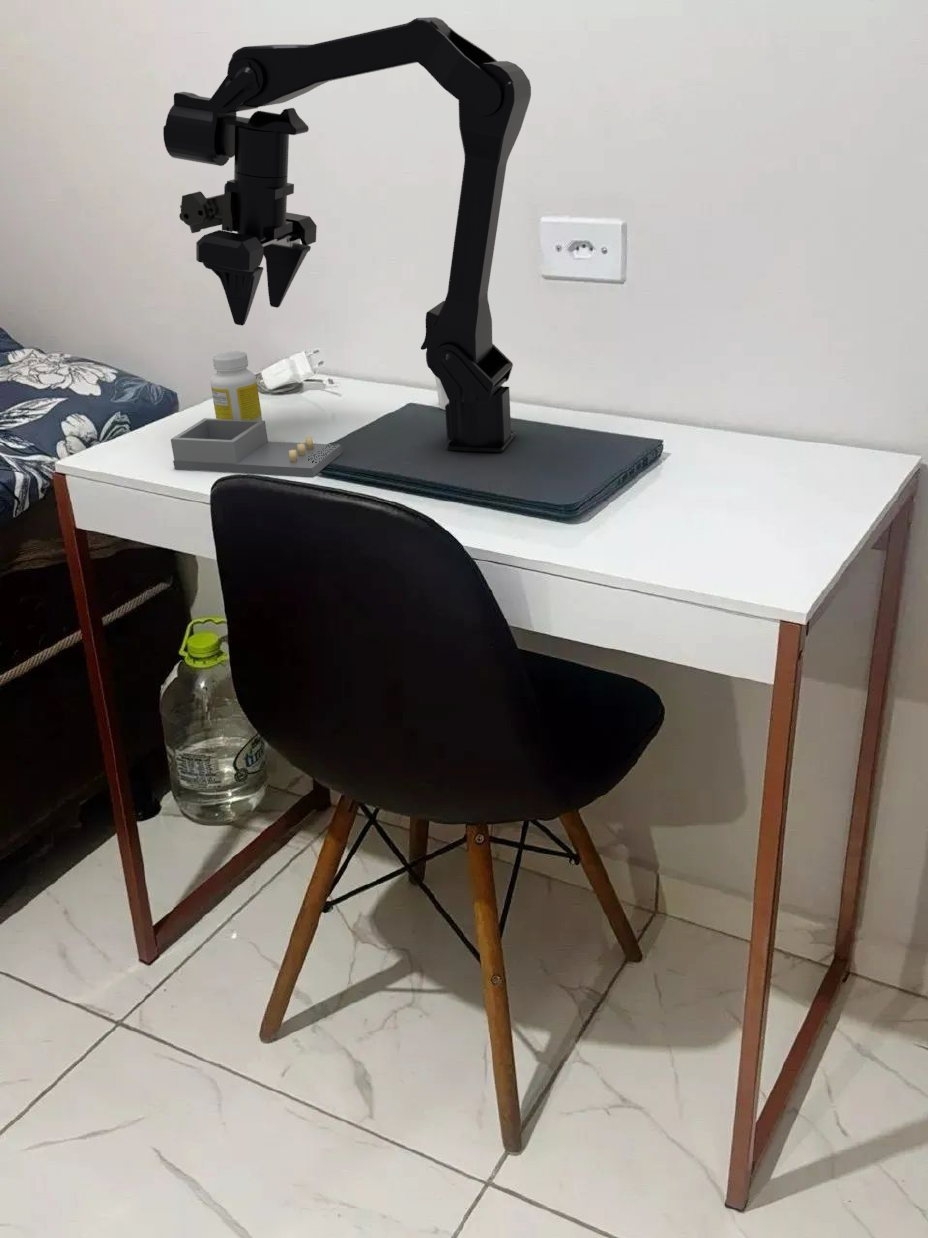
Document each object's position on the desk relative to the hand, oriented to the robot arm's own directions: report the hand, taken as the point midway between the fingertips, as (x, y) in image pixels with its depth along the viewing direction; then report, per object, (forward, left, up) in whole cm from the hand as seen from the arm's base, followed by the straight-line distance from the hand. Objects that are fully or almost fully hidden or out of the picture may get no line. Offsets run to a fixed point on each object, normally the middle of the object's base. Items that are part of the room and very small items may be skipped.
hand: (257, 315), depth 136 cm
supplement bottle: (+4, +1, -15) cm, 15 cm away
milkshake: (-18, -14, -14) cm, 27 cm away
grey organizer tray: (-3, +9, -14) cm, 17 cm away
